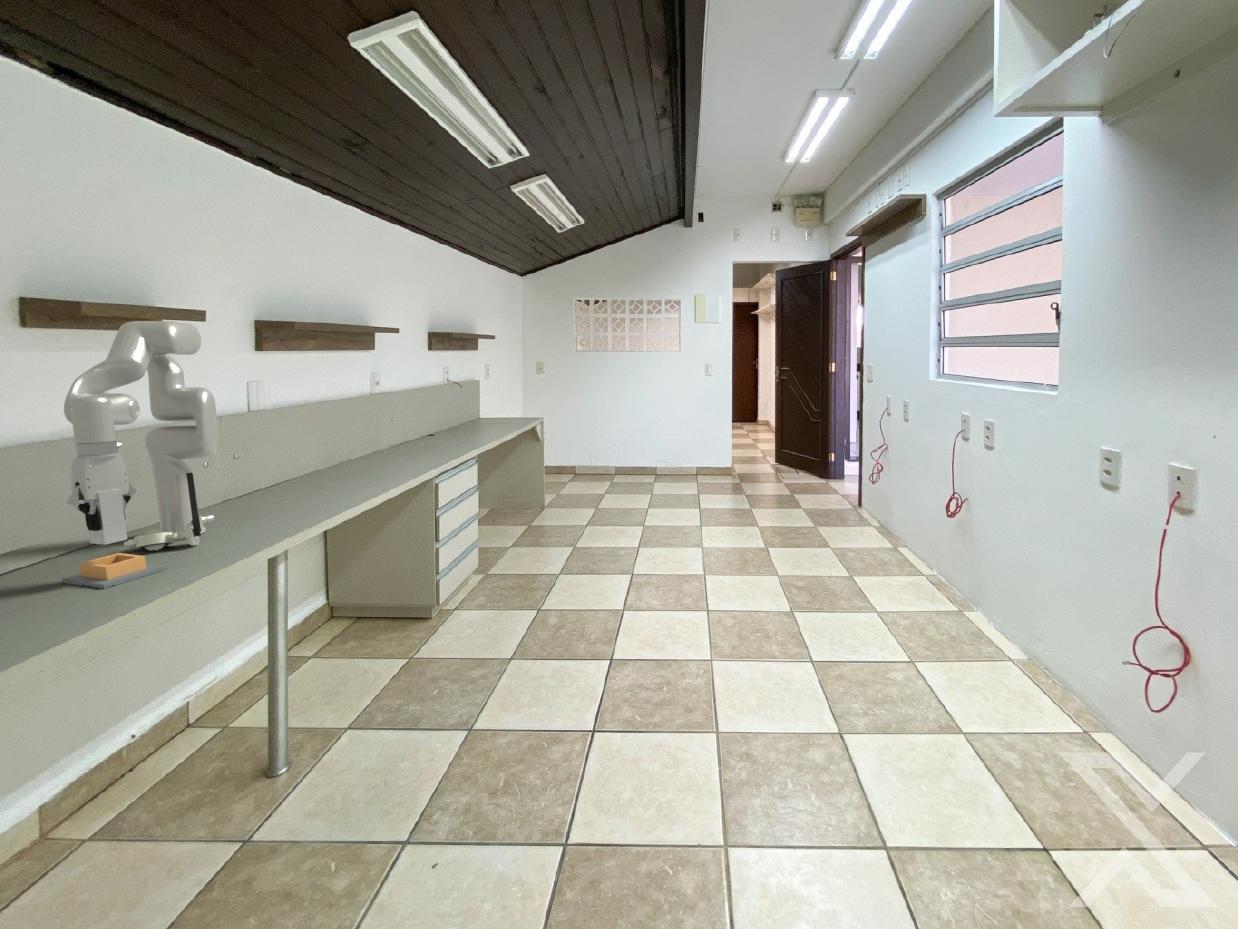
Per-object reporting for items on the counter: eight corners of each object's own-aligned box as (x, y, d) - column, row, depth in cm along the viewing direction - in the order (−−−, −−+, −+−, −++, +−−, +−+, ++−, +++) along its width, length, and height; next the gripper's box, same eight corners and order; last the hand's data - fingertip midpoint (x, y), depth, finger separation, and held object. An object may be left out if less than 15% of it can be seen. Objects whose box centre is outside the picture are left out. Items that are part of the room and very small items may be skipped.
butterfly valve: (122, 555, 175) (197, 543, 181) (113, 480, 178) (188, 469, 183) (135, 557, 184) (207, 544, 189) (126, 485, 186) (197, 474, 191)
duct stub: (112, 537, 161) (106, 487, 160) (127, 539, 160) (120, 488, 158) (90, 543, 157) (83, 491, 155) (105, 544, 155) (98, 492, 153)
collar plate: (124, 564, 169) (122, 549, 168) (164, 570, 164) (162, 554, 164) (62, 582, 156) (59, 565, 155) (104, 588, 151) (101, 571, 151)
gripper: (123, 445, 164) (132, 518, 167) (44, 454, 148) (55, 535, 151) (145, 446, 162) (154, 520, 164) (67, 455, 146) (78, 537, 149)
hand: (107, 526), depth 158 cm, fingers closed on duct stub, 5 cm apart
